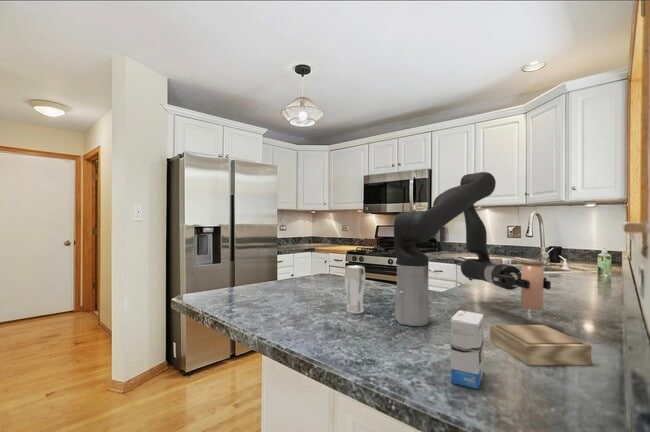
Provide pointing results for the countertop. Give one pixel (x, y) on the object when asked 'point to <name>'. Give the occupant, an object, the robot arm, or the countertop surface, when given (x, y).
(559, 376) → the countertop surface
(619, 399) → the countertop surface
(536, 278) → the canister
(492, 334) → the base block
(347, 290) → the beer glass
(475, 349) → the ink box
